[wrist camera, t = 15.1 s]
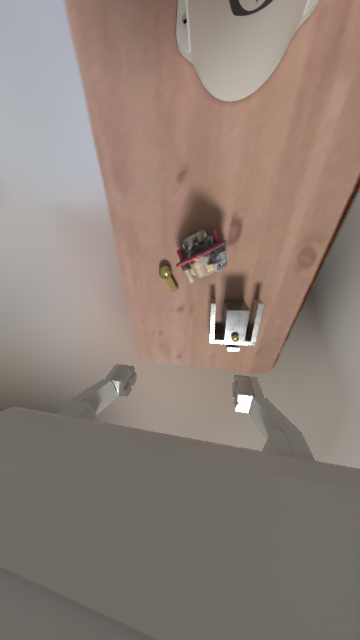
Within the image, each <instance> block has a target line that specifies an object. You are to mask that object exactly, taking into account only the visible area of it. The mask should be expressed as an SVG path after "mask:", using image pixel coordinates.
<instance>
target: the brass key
mask: <svg viewBox="0 0 360 640" xmlns="http://www.w3.org/2000/svg"><path fill="white" fill-rule="evenodd" d="M171 274H172V270H171V268H170V267H169V266H167V265H164V266H162V267H161V268H160V269H159V275H160V276H161V277H162V278H164V279H165V280H166V281H167V283H168V285H169V287H170V288H171V290H172V292H174V291H176V290H178V286H177V284H176V283H175V281H174V279H173V277H172V275H171Z"/></svg>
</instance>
